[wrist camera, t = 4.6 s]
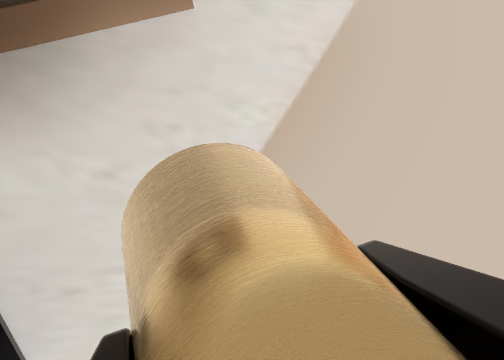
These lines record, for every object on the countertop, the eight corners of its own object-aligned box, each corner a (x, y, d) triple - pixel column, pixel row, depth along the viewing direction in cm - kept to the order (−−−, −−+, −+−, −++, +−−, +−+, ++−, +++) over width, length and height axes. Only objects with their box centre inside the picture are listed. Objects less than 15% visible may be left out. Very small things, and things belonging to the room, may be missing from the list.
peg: (307, 270, 12) (616, 693, 5) (151, 325, 11) (249, 922, 4) (281, 121, 10) (707, 443, 3) (95, 174, 9) (96, 762, 2)
